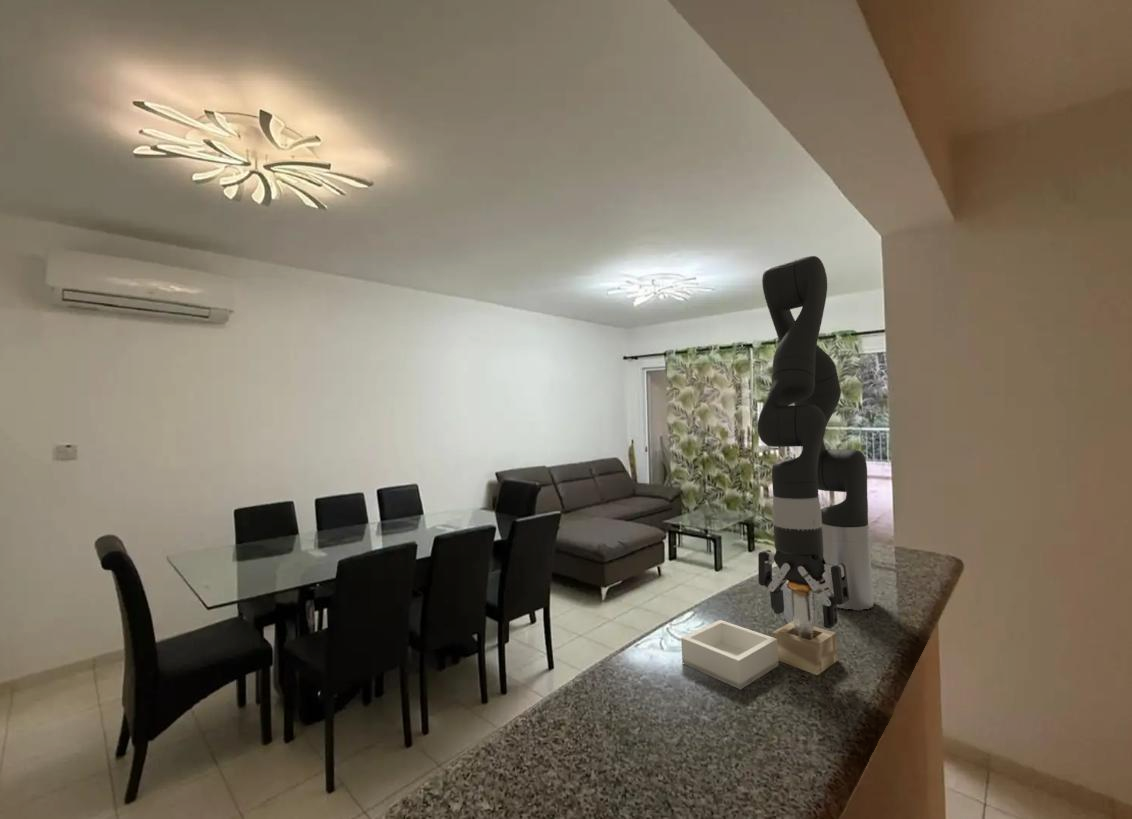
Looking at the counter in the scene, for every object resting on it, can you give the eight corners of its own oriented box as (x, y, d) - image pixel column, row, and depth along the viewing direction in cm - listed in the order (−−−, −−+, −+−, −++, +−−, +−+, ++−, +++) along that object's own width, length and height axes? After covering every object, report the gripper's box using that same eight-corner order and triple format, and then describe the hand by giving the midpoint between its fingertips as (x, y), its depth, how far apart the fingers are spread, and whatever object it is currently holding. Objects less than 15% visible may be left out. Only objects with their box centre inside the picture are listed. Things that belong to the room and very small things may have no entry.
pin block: (795, 646, 86) (794, 620, 86) (838, 660, 81) (836, 632, 81) (774, 659, 82) (772, 632, 82) (817, 675, 76) (815, 646, 76)
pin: (799, 651, 84) (794, 575, 85) (825, 660, 81) (820, 581, 81) (786, 659, 82) (781, 581, 82) (812, 669, 78) (807, 587, 79)
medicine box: (819, 636, 90) (816, 589, 90) (793, 635, 91) (790, 588, 91) (806, 619, 97) (804, 576, 98) (783, 618, 98) (780, 575, 99)
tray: (721, 643, 89) (720, 619, 89) (778, 665, 80) (777, 638, 80) (682, 663, 82) (681, 637, 82) (740, 689, 73) (738, 660, 73)
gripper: (851, 524, 79) (858, 626, 78) (769, 514, 90) (774, 603, 89) (830, 532, 74) (837, 640, 74) (746, 520, 85) (752, 613, 85)
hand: (803, 619), depth 81 cm, fingers open, 8 cm apart
